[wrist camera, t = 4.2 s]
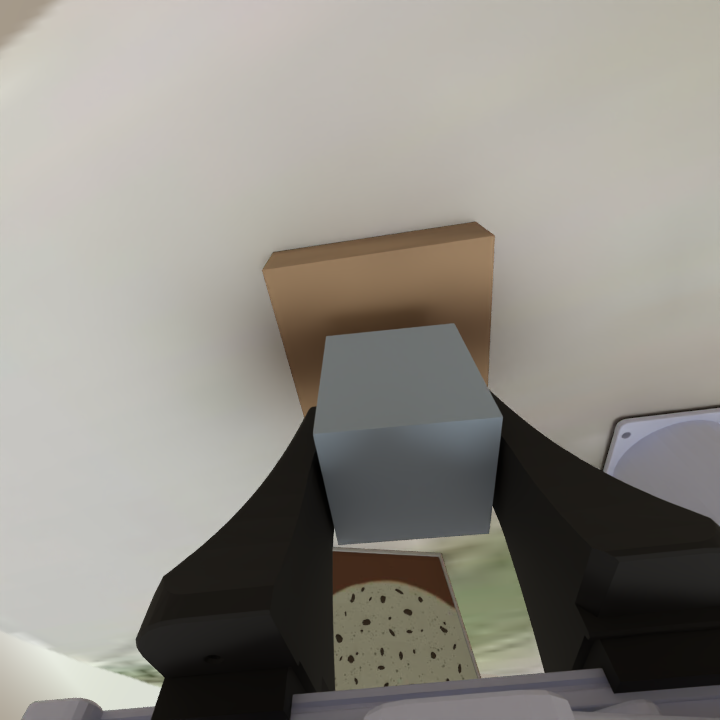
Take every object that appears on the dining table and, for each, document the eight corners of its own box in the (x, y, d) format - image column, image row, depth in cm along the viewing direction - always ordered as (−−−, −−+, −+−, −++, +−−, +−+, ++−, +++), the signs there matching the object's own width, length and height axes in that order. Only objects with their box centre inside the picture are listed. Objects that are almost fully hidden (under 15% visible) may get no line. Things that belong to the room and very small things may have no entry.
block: (451, 421, 15) (489, 533, 11) (342, 431, 16) (338, 544, 11) (454, 323, 13) (503, 417, 9) (326, 336, 13) (312, 434, 9)
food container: (298, 588, 32) (279, 758, 23) (302, 545, 28) (281, 723, 20) (441, 594, 33) (473, 759, 24) (459, 553, 29) (504, 726, 21)
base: (472, 388, 21) (486, 417, 19) (314, 408, 21) (310, 438, 19) (475, 221, 16) (494, 235, 14) (273, 252, 17) (262, 270, 15)
